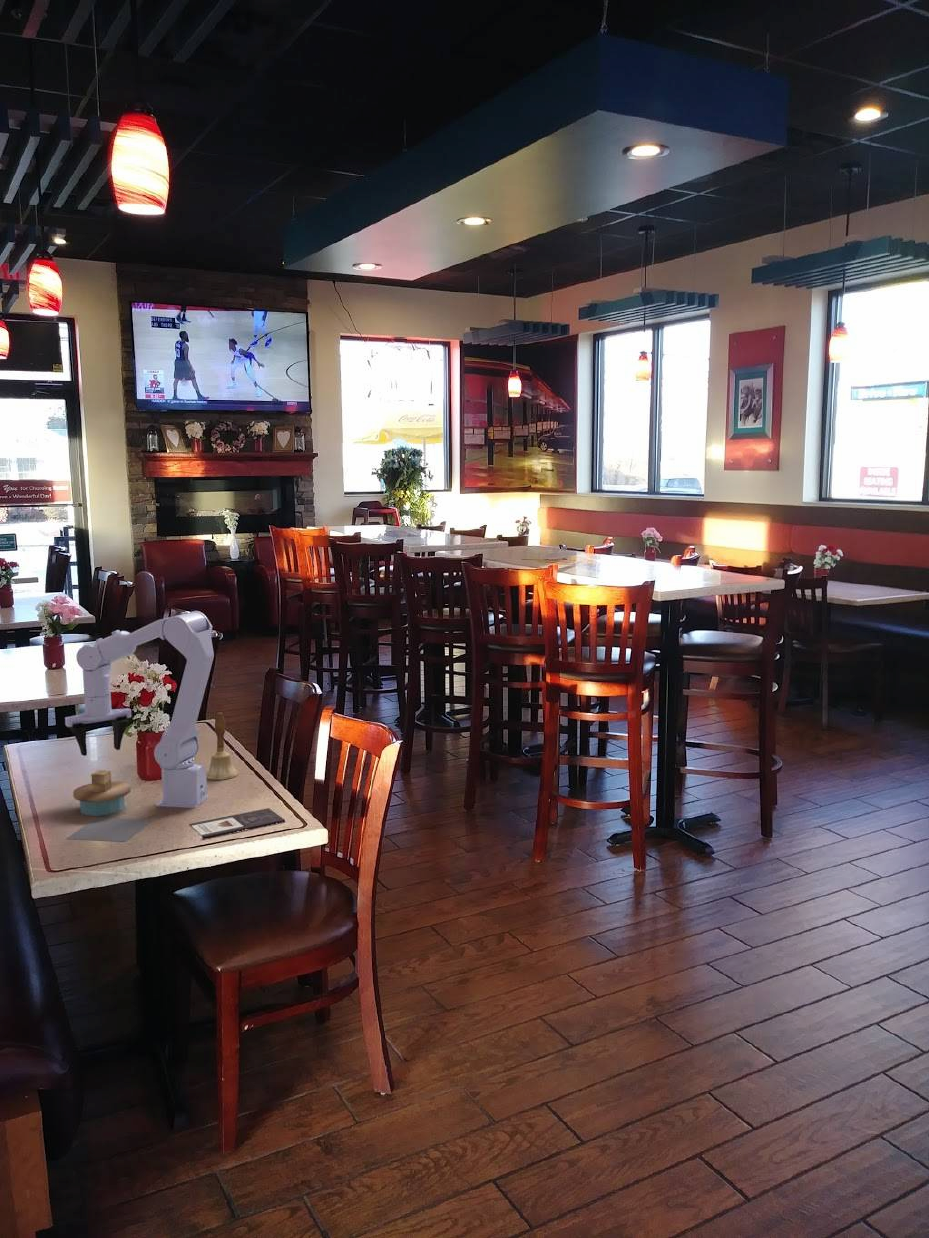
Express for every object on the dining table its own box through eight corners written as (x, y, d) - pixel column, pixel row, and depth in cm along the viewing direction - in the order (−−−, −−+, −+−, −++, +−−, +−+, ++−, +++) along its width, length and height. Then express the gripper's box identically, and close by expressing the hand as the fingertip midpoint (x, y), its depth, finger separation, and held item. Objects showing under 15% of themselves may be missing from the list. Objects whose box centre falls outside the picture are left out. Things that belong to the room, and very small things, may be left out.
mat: (153, 821, 212) (153, 819, 212) (126, 843, 199) (125, 841, 199) (96, 818, 213) (96, 816, 213) (65, 840, 201) (65, 838, 200)
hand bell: (216, 768, 250) (214, 708, 247) (244, 772, 247) (242, 710, 244) (197, 778, 242) (194, 715, 240) (225, 781, 239) (223, 718, 237)
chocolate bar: (285, 819, 211) (203, 836, 201) (285, 824, 211) (204, 841, 201) (268, 808, 219) (189, 823, 209) (268, 812, 219) (189, 828, 209)
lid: (140, 785, 223) (139, 765, 222) (114, 803, 211) (113, 781, 211) (90, 783, 225) (89, 763, 224) (62, 800, 213) (61, 779, 212)
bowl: (131, 803, 223) (130, 787, 222) (112, 817, 214) (111, 800, 213) (93, 802, 224) (92, 785, 223) (72, 816, 215) (71, 798, 214)
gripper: (122, 687, 233) (125, 742, 235) (59, 696, 224) (63, 753, 226) (133, 692, 228) (136, 749, 230) (69, 701, 219) (72, 760, 221)
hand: (100, 751), depth 228 cm, fingers open, 7 cm apart
